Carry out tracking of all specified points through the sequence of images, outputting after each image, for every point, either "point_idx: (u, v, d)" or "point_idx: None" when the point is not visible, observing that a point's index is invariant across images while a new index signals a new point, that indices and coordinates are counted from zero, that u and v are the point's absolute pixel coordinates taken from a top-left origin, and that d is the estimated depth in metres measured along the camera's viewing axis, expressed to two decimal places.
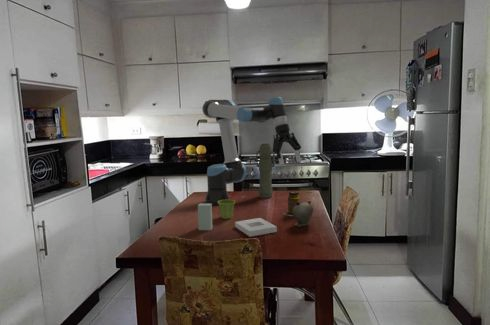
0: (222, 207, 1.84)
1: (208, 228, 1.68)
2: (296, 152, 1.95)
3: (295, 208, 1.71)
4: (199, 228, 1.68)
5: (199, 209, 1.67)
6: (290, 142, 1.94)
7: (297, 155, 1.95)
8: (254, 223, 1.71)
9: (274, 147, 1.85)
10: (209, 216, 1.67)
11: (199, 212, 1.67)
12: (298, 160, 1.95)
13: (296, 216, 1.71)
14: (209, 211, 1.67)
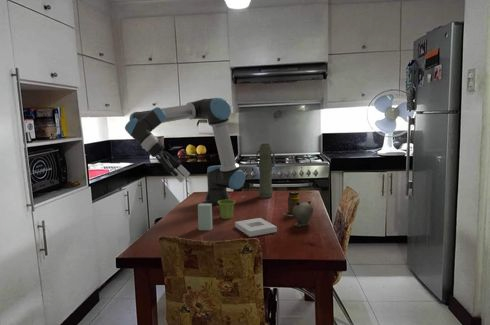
0: (222, 207, 1.84)
1: (208, 228, 1.68)
2: None
3: (295, 208, 1.71)
4: (199, 228, 1.68)
5: (199, 209, 1.67)
6: None
7: None
8: (254, 223, 1.71)
9: None
10: (209, 216, 1.67)
11: (199, 212, 1.67)
12: None
13: (296, 216, 1.71)
14: (209, 211, 1.67)
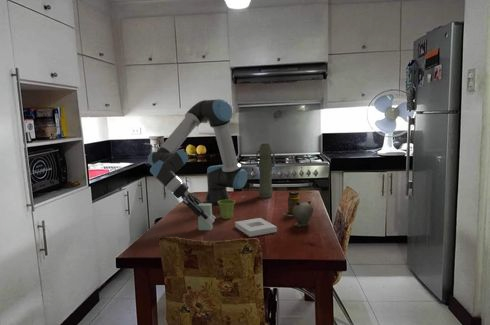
0: (222, 207, 1.84)
1: (208, 228, 1.68)
2: None
3: (295, 208, 1.71)
4: (199, 228, 1.68)
5: None
6: None
7: None
8: (254, 223, 1.71)
9: None
10: None
11: None
12: None
13: (296, 216, 1.71)
14: (209, 211, 1.67)
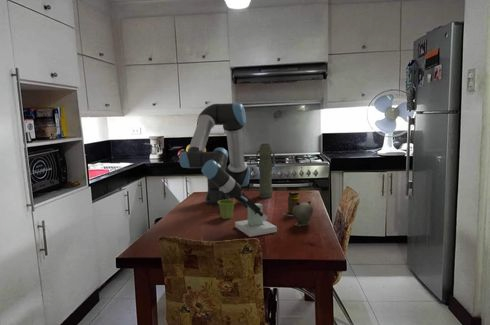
0: (222, 207, 1.84)
1: None
2: None
3: (295, 208, 1.71)
4: None
5: (252, 210, 1.64)
6: None
7: None
8: None
9: None
10: None
11: (252, 213, 1.65)
12: None
13: (296, 216, 1.71)
14: (261, 210, 1.67)
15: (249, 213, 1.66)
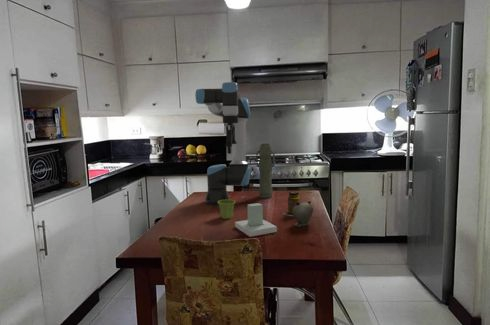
0: (222, 207, 1.84)
1: None
2: None
3: (295, 208, 1.71)
4: None
5: (252, 210, 1.64)
6: None
7: None
8: None
9: None
10: (261, 215, 1.67)
11: (252, 213, 1.65)
12: None
13: (296, 216, 1.71)
14: (261, 210, 1.67)
15: (249, 213, 1.66)
